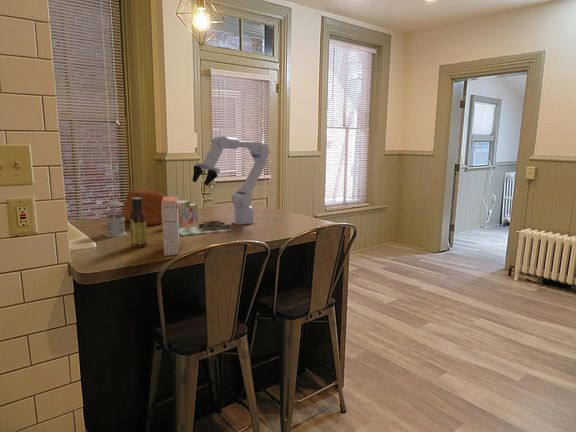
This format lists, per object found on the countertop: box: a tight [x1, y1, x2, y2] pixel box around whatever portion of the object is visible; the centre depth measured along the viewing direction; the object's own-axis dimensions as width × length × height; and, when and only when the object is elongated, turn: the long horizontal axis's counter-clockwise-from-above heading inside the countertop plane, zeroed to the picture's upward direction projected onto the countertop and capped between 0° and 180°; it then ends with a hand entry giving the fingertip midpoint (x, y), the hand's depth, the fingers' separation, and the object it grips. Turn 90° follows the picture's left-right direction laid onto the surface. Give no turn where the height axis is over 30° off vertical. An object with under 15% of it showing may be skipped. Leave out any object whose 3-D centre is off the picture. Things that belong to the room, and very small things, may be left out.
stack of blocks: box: [178, 199, 199, 228], centre depth 212 cm, size 21×6×12 cm, turn 168°
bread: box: [122, 188, 165, 226], centre depth 215 cm, size 18×21×17 cm
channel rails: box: [198, 221, 230, 231], centre depth 200 cm, size 13×8×2 cm, turn 119°
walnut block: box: [203, 218, 222, 226], centre depth 199 cm, size 7×5×4 cm, turn 119°
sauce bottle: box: [129, 197, 148, 248], centre depth 166 cm, size 7×6×20 cm
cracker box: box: [161, 195, 181, 257], centre depth 159 cm, size 14×6×21 cm, turn 13°
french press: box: [103, 179, 128, 238], centre depth 185 cm, size 10×12×25 cm
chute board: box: [179, 226, 233, 237], centre depth 197 cm, size 24×14×1 cm, turn 119°
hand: (199, 183), depth 196 cm, fingers open, 7 cm apart
